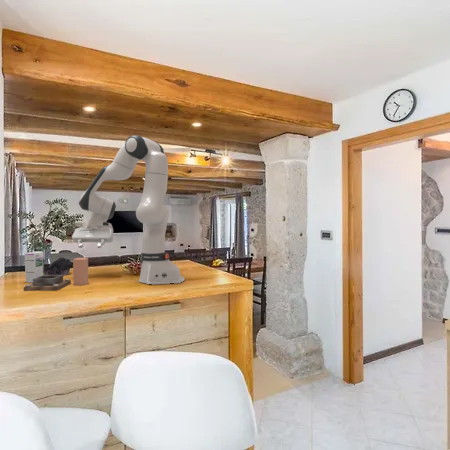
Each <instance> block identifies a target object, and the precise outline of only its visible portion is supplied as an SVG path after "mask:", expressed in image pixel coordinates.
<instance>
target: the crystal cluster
mask: <svg viewBox="0 0 450 450" xmlns="http://www.w3.org/2000/svg"><path fill="white" fill-rule="evenodd" d="M71 267H72V261H71V259H70V258H64V257H59V258H57V259H55V260H54V261H53V262H51V263H50V264H49V265H47V266H46V267H44V275H63V277H64V276H67V275H69V273H70V271H71Z"/></svg>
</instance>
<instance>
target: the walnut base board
mask: <svg viewBox="0 0 450 450" xmlns="http://www.w3.org/2000/svg"><path fill="white" fill-rule="evenodd" d="M71 284H72V281H71V280H70V278H65V279H64V276H63V275H42V276H40V277H37V278H34V279H33V283H28V284H25V285H24V287H23V292H27V291H29V292H32V291H34V292H35V291H36V292H37V291H38V292H39V291H43V292H44V291H60V290H61V289H63V288H65V287H67V286H69V285H71Z"/></svg>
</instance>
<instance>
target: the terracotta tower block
mask: <svg viewBox="0 0 450 450" xmlns="http://www.w3.org/2000/svg"><path fill="white" fill-rule="evenodd" d="M72 268H73V269H72V275H73V277H72V279H73V281H72V282H73V286H85V285H87V284H89V257H76V258H73V259H72Z"/></svg>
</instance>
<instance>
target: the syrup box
mask: <svg viewBox="0 0 450 450" xmlns="http://www.w3.org/2000/svg"><path fill="white" fill-rule="evenodd" d="M44 255H45V253H44V251H41V250H39V251H36V250H35V251H29V252H25V253H24V270H25V271H24V272H25V283H28V284H33V279H34V278H37V277H40V276H42V275H44V269H45V260H44V258H45V257H44Z"/></svg>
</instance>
